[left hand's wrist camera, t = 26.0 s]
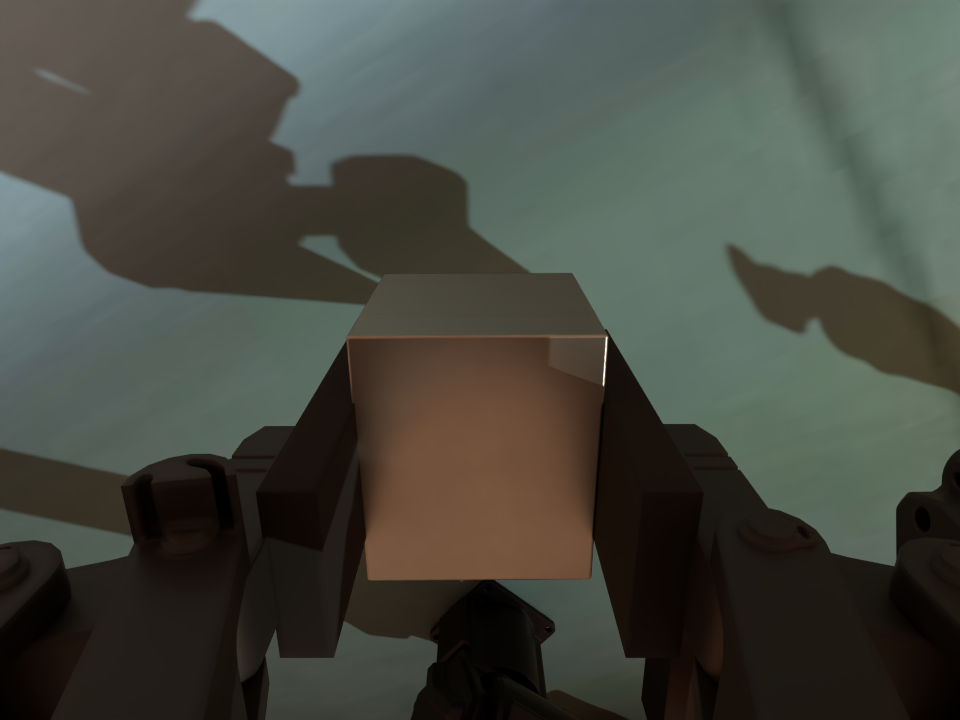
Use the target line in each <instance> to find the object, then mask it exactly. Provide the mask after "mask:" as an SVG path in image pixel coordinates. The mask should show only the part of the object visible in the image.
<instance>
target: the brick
mask: <svg viewBox="0 0 960 720" xmlns="http://www.w3.org/2000/svg"><path fill="white" fill-rule="evenodd" d="M346 340H347V352H348V363H349V374H350V385H351V397H352V403H355V415H356V428H357V440H358V452H359V465H360V477H361V490H362V502H363V514H364V527H365V539H366V540H365V554H366V566H367V577H368V580H568V579H590V578H591V572H592V558H593V544H594V529H595V515H596V502H597V489H598V475H599V461H600V447H601V433H602V419H603V405H604V391H605V377H606V364H607V350H608V334H607V333H606V331H605V329H604V327H603V326H602V324H601V322H600V320H599V319H598V317H597V315H596V313H595V312H594V310H593V308H592V306H591V305H590V303H589V301H588V300H587V298H586V296H585V294H584V293H583V291H582V289H581V287H580V286H579V284H578V282H577V280H576V279H575V277H574V275H573V274H572V273H493V274H385V275H383V277H382V278H381V280H380V282H379V283H378V285H377V287H376V288H375V290H374V292H373V293H372V295H371V297H370V299H369V300H368V302H367V304H366V305H365V307H364V309H363V310H362V312H361V314H360V315H359V317H358V319H357V320H356V322H355V324H354V325H353V327H352V329H351V330H350V332H349V334H348V335H347V338H346Z"/></svg>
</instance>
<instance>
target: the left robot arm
mask: <svg viewBox="0 0 960 720" xmlns="http://www.w3.org/2000/svg"><path fill="white" fill-rule="evenodd" d="M605 331H606V333H607V334H608V350H607V364H606V377H605V391H604V405H603V419H602V433H601V447H600V461H599V475H598V489H597V502H596V515H595V529H594V541H595V545H596V549H597V553H598V556H599V560H600V564H601V567H602V571H603V575H604V579H605V582H606V586H607V590H608V593H609V597H610V601H611V605H612V608H613V612H614V616H615V619H616V623H617V627H618V631H619V634H620V638H621V642H622V645H623V649H624V653H625V657H626V658H679V657H680V650H681V643H682V636H683V630H684V627H685V630H686V632H687V635H688V637H689V640H690V642H691V645H692V647H693V650H694V652H695V657H694V663H693V670H692V676H691V682H690V688H689V695H688V701H687V707H686V714H685V720H694V715H695V720H960V541H955V540H950V539H939V538H928V537H925V538H919V539H913V540H909V541H908V542H906V543H905V544H904V545H903V546H901V547H900V549H899V553H898V556H897V559H896V563H895V566H890V565H884V564H879V563H874V562H869V561H864V560H859V559H854V558H849V557H845V556H841V555H837V554H833V553H831V552H830V550H829V548H828V546H827V544H826V542H825V541H824V539H823V538H822V537H821V536H820V534H819V533H818V532H817V531H816V530H815V529H814V528H813V527H811V526H810V525H808V524H807V523H805V522H804V521H802V520H801V519H799V518H797V517H794V516H792V515H789V514H787V513H784V512H782V511H779V510H774V509H769V508H768V507H767V506H766V504H765V503H764V502H763V500H762V499H761V498H760V496H759V495H758V494H757V492H756V491H755V490H754V488H753V487H752V485H751V484H750V483H749V481H748V480H747V479H746V477H745V476H744V475H743V473H742V472H741V471H740V470H738V467H737V465H736V464H735V462H734V461H733V460H732V458H731V457H728V453H727V452H726V450H725V449H724V448H723V446H722V445H721V443H720V442H719V441H718V439H717V438H716V437H714V436H713V435H711V434H710V433H708V432H706V431H705V430H703V429H702V428H700V427H699V426H697V425H695V424H663V423H662V421H661V420H660V418H659V416H658V415H657V413H656V411H655V410H654V408H653V406H652V405H651V403H650V401H649V400H648V398H647V396H646V395H645V393H644V391H643V390H642V388H641V386H640V385H639V383H638V381H637V380H636V378H635V376H634V375H633V373H632V371H631V369H630V368H629V366H628V364H627V363H626V361H625V359H624V358H623V356H622V354H621V353H620V351H619V349H618V348H617V346H616V344H615V343H614V341H613V339H612V338H611V336H610V334H609V333H608V331H607V329H605ZM121 489H122V494H123V498H124V502H125V506H126V511H127V515H128V519H129V523H130V527H131V532H132V536H133V540H134V545H133V547H132V549H131V551H130V553H129V555H128V556H126V557H122V558H118V559H114V560H110V561H105V562H100V563H95V564H90V565H85V566H80V567H75V568H70V569H66V568H65V565H64V562H63V558H62V555H61V551H60V550H59V549H58V548H56V547H55V546H54V545H53V544H51V543H47V542H41V541H35V540H32V541H21V542H10V543H5V544H0V720H265V716H266V707H267V699H268V690H269V677H268V670H267V663H266V657H265V654H266V652H267V649H268V647H269V644H270V642H271V639H272V637H273V634H274V632H275V629H276V633H277V640H278V646H279V653H280V658H334V655H335V651H336V647H337V644H338V640H339V636H340V633H341V629H342V625H343V621H344V618H345V614H346V610H347V607H348V603H349V599H350V595H351V592H352V588H353V584H354V581H355V577H356V573H357V570H358V566H359V562H360V558H361V555H362V551H363V547H364V544H365V540H366V539H365V527H364V514H363V502H362V490H361V477H360V465H359V452H358V440H357V428H356V415H355V403H352V397H351V385H350V374H349V363H348V352H347V340H346V342H345V344H344V345H343V347H342V349H341V350H340V352H339V354H338V355H337V357H336V359H335V360H334V362H333V364H332V365H331V367H330V369H329V370H328V372H327V374H326V375H325V377H324V379H323V380H322V382H321V384H320V385H319V387H318V389H317V390H316V392H315V394H314V396H313V397H312V399H311V401H310V402H309V404H308V406H307V407H306V409H305V411H304V412H303V414H302V416H301V417H300V419H299V421H298V422H297V424H296V426H265V427H263V428H261V429H260V430H258V431H257V432H255V433H254V434H252V435H250V436H249V437H247V438H246V439H244V440H243V441H242V443H241V444H240V445H239V447H238V448H237V450H236V451H235V452H234V454H233V455H232V459H229V460H228V459H227V458H225V457H221V456H217V455H213V454H188V455H183V456H177V457H172V458H168V459H165V460H162V461H159V462H156V463H153V464H151V465H148V466H146V467H145V468H143V469H141V470H139V471H138V472H136V473H134V474H133V475H131V476H130V477H129V478H128V479H127V480H126V481H125V482H124V484H123V485H122V486H121Z"/></svg>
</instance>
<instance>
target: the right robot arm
mask: <svg viewBox="0 0 960 720" xmlns="http://www.w3.org/2000/svg"><path fill="white" fill-rule="evenodd" d="M925 537H928V538H939V539H950V540H955V541H960V449H959V450H958V451H956V452H955V453H954V454H953V455H952V456H951V457H950V458H949V460H948V461H947V463H946V465H945V467H944V470H943V474H942V485H941V486H940V487H939V488H938V489H936V490H934V491H932V492H909V493H907V494H906V495H905V496H904V498H903V499H902V500H901V501H900V503H899V504H898V506H897V509H896V555H897V556H898V553H899V549H900V547H901V546H903V545H904V544H905V543H906V542H908V541H909V540H913V539H919V538H925ZM487 585H490V587H485V586H487ZM546 627H550V628H546ZM554 632H555V624H554V622H553V621H552V620H550V619H549V618H547V617H546V616H544V615H543V614H542V613H540V612H539V611H537V610H536V609H534V608H533V607H531V606H530V605H529V604H527V603H526V602H524V601H523V600H521V599H520V598H518V597H517V596H516V595H514V594H513V593H511V592H510V591H508V590H507V589H506V588H504V587H503V586H501V585H500V584H498V583H497V582H495V581H494V580H482V581H481V582H480V583H479V584H478V585H477V586H476V587H475V588H474V589H473V590H472V591H471V592H470V593H469V594H468V595H467V596H465V597H462V598H461V599H460V600H459V601H458V602H457V603H456V604H455V605H453V606H452V607H451V608H450V609H449V610H448V611H447V612H446V613H445V614H444V615H443V616H442V617H441V618H440V622H439V623H438V624H436V625H435V626H434V627H433V628H432V629H431V631H430V639H431V640H432V641H433V642H434V643H436V644H438V650H437V662H436V663H433V664H432V665H431V666H430V667H429V668H428V672H427V682H426V686H425V687H424V688H423V689H422V690H421V691H420V692H419V694H418V696H417V699H416V702H415V704H414V710H413V714H412V717H411V720H580V719H579V718H577V717H575V716H573V715H572V714H571V713H570V712H569V711H567V710H565V709H562V708H560V707H558V706H557V705H555V704H553V703H551V702H550V701H548V700H547V695H546V687H545V679H544V670H543V662H542V653H541V644H542V643H543V642H544V641H545V640H546V639H547V638H549V637H550V636H551V635H552V634H553V633H554ZM435 634H439V635H435ZM694 657H695V652H694V650H693V647H692V645H691V642H690V640H689V637H688V635H687V632H686V630H685V627H684V630H683V636H682V643H681V650H680V657H679V658H646V659H645V669H644V678H643V688H642V697H641V699H642V703H643V706H644V710H645V713H646V717H647V720H685V714H686V707H687V701H688V695H689V688H690V682H691V676H692V670H693V663H694ZM694 720H695V715H694Z"/></svg>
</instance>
